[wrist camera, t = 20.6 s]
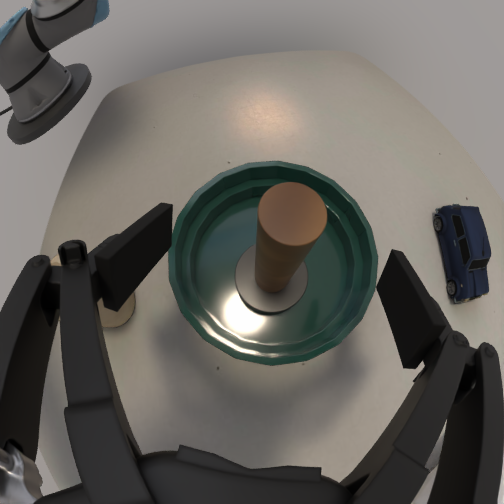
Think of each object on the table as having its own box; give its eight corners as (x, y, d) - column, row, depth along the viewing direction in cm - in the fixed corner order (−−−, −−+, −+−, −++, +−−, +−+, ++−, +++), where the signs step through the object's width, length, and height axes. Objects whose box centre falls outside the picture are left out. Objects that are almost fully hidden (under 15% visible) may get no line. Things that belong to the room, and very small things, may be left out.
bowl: (164, 334, 24) (145, 333, 20) (208, 176, 29) (202, 148, 24) (341, 370, 23) (361, 377, 19) (362, 207, 28) (380, 185, 23)
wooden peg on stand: (228, 304, 24) (195, 262, 10) (247, 243, 26) (242, 138, 12) (292, 322, 24) (350, 305, 10) (308, 260, 26) (370, 174, 11)
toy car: (449, 305, 25) (480, 298, 20) (428, 208, 28) (453, 187, 23) (478, 297, 25) (508, 289, 20) (458, 209, 28) (482, 190, 23)
